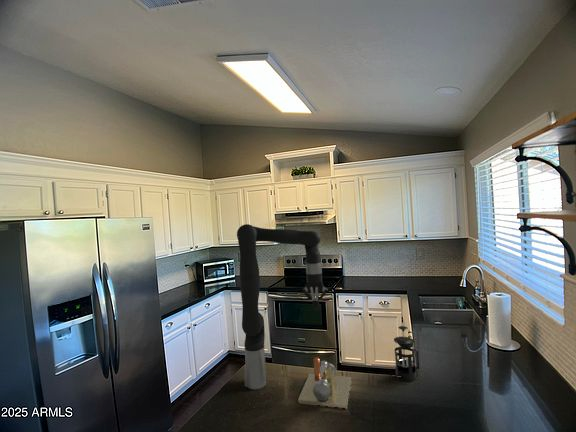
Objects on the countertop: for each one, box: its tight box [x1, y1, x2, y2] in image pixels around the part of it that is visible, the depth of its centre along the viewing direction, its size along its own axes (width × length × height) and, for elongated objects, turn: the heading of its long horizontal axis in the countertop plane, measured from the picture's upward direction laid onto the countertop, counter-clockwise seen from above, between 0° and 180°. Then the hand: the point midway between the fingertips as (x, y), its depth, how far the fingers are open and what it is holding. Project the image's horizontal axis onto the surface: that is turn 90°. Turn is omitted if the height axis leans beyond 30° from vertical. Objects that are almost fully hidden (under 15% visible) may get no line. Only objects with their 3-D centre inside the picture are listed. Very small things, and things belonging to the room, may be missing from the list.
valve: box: [297, 362, 352, 410], centre depth 134 cm, size 20×22×12 cm
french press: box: [393, 325, 420, 382], centre depth 143 cm, size 12×9×23 cm
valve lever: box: [313, 356, 328, 384], centre depth 126 cm, size 17×3×9 cm, turn 163°
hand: (316, 308), depth 147 cm, fingers closed
